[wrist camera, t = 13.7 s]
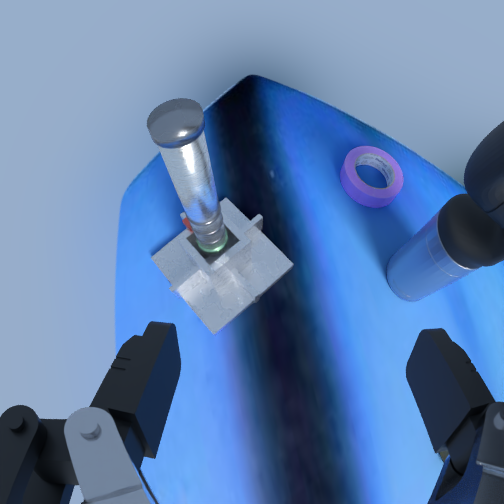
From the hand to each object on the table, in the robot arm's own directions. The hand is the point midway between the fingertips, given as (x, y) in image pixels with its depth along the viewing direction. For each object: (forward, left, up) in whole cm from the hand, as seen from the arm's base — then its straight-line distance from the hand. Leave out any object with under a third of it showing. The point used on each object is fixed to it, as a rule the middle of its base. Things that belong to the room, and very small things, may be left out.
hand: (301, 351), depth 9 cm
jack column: (-5, -16, -28) cm, 33 cm away
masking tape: (-36, -10, -37) cm, 53 cm away
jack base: (-5, -16, -37) cm, 40 cm away
